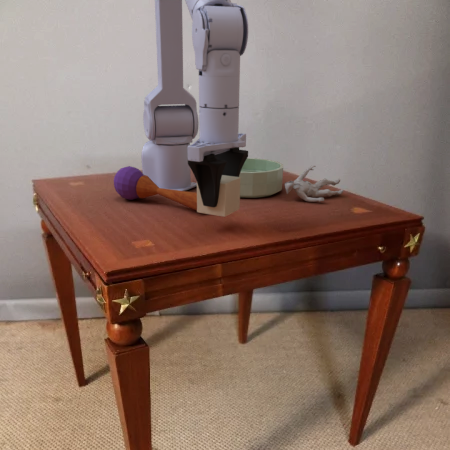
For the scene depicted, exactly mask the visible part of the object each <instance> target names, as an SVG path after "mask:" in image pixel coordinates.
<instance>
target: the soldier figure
mask: <svg viewBox="0 0 450 450" xmlns="http://www.w3.org/2000/svg"><path fill="white" fill-rule="evenodd" d="M315 167H316V165H311V166H309V167H308V168H306V169H305V170H304V171H303V172H302V173H301V174H300V175H299V176H298V177H297V178H295V179H294V180H288V181H285V182H284V188H285V192H286V194H287V195H288V194H289V193H290V192H291V191H292V190H294V192H295V193H296V195H297V196H298V197H299V198H300V199H302V200H303V201H304V202H309V203H316V202H318V203H321V202H325V198H324V197H327V196H328V197H332V196H340V195H341V196H342V194H343V193H344V189H339V190H331V189H330V188H326V189H322V188H323V187H324V186H330V185H332V187H333V186H337V185H339V184H340V182H341V178H340V177H339V178H337V179H336V180H335V179H334V180H329V179H327V178H323V179H319V181H316V182H314V183H311V182H310V181H309V180H304V179H305V178H306V177H307V176H308V173H309V172H310V171H314V170H315V169H314V168H315Z"/></svg>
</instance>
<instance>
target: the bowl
mask: <svg viewBox="0 0 450 450" xmlns="http://www.w3.org/2000/svg"><path fill="white" fill-rule="evenodd" d="M239 177H240V198H244V199H245V198H246V199H255V198H256V199H257V198H265V197H270V196H273V195H275V194H277V193H279V192H281V191H282V190H283V180H284V179H283V178H284V164H283V163H281V162H280V161H276V160H272V159H266V158H258V157H247V159H246V161H245V163H244V165H243V167H242V169H241V172H240V175H239Z"/></svg>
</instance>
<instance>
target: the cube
mask: <svg viewBox="0 0 450 450" xmlns="http://www.w3.org/2000/svg"><path fill="white" fill-rule="evenodd" d="M196 193H197V210H196V213H199V214H205V215H209V216H210V215H211V216H216V217H222V218H226V217H228V216H230V215H231V214H234V213H235V212H237V211H239V210H240V208H241V197H240V177H234V176H226V175H222V177H221V182H220V189H219V198H218V203H217V207H208V206H204V205H203V202H202V198H201V194H200V190H199V187H198V184H197V186H196Z"/></svg>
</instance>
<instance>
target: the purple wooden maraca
mask: <svg viewBox="0 0 450 450" xmlns="http://www.w3.org/2000/svg"><path fill="white" fill-rule="evenodd" d="M113 187H114V189H115V192H116V193H117V194H118V195H119V196H120V197H121V198H122V199H126V200H129V201H133V200H137V199H146V198H149V197H152V196H153V197H154V196H157V195H159V196H162V197H164V198H166V199H169V200H171V201H173V202H176V203H178V204H180V205H183V206H185V207H187V208H190V209H192V210H194V211H197V192H195V191H188V190H186V191H179V190H171V189H163V188H159V187H158V186H157V185H156V184H155V183H154V182H153V181H152V180H151V179H150V178H149V177H148V176H146V175H143V172H142V171H141V170H140V169H139V168H137V167H134V166H130V165H128V166H124V167H121V168H120V169H119V170H117V171H116V173H115V175H114V177H113Z"/></svg>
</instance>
